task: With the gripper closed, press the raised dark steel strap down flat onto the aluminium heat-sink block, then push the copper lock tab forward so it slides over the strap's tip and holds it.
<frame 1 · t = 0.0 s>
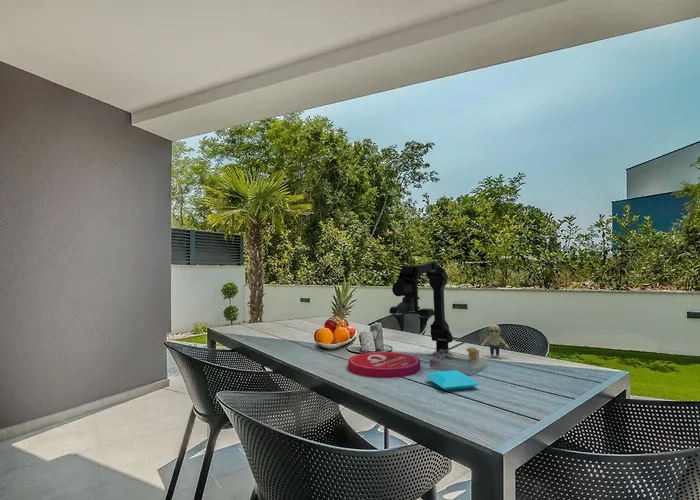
hand: (411, 331, 171), 15 cm above the table, tool pointing down, fingers open, 9 cm apart
prism: (451, 386, 145), on the table
sign: (384, 368, 170), on the table
toy: (494, 358, 185), on the table
lock tab: (472, 353, 169), point 6 cm above the table, slide at 0.0 cm
heatsink block: (458, 367, 169), on the table
strap: (451, 348, 168), point 8 cm above the table, hinge at 28.0°
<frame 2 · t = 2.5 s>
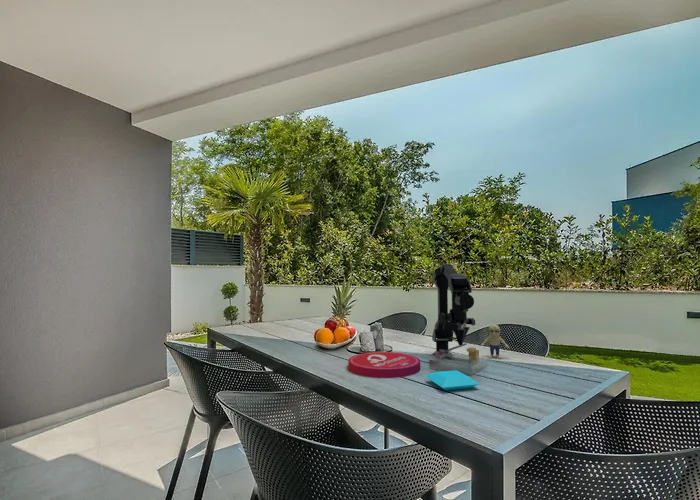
hand: (460, 345, 165), 10 cm above the table, tool pointing down, fingers closed, pressing on strap
strap: (451, 349, 168), point 8 cm above the table, hinge at 24.4°, touching gripper
everything else where it was.
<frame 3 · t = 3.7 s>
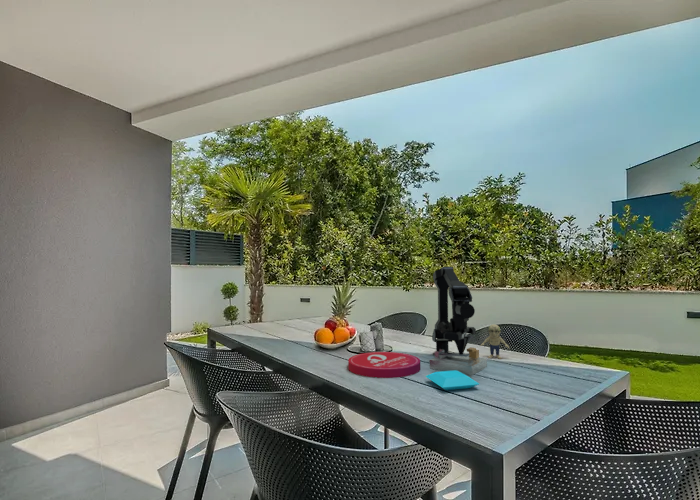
hand: (461, 354, 165), 6 cm above the table, tool pointing down, fingers closed, pressing on strap
strap: (452, 354, 167), point 6 cm above the table, hinge at 4.4°, touching gripper
everything else where it was.
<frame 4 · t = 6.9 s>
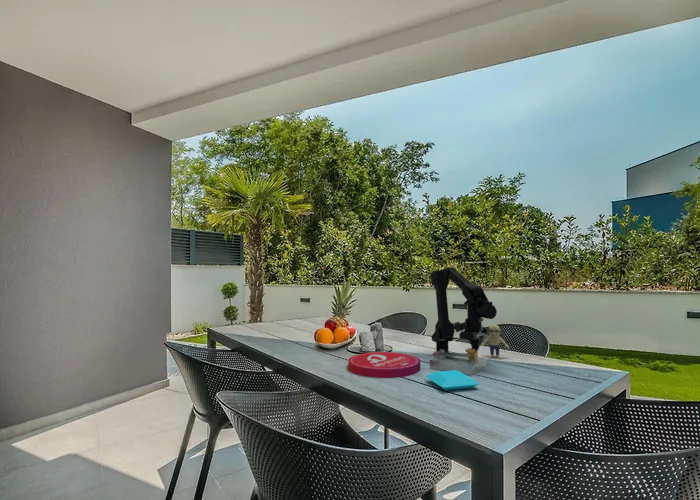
hand: (475, 353, 171), 5 cm above the table, tool pointing down, fingers closed
lock tab: (471, 353, 168), point 6 cm above the table, slide at 1.4 cm, touching gripper
strap: (452, 354, 167), point 6 cm above the table, hinge at 4.3°
everything else where it was.
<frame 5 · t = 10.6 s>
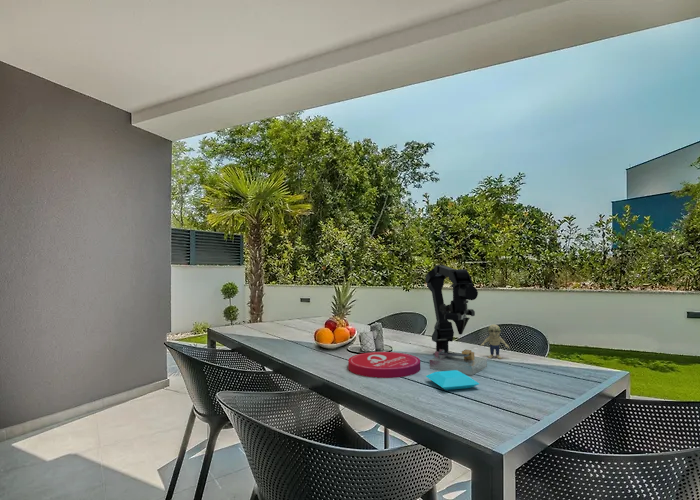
hand: (460, 334, 176), 12 cm above the table, tool pointing down, fingers closed
lock tab: (467, 355, 165), point 6 cm above the table, slide at 5.0 cm
everything else where it was.
at the end: strap at +4° (first picture: +28°); lock tab slide at 5.0 cm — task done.
